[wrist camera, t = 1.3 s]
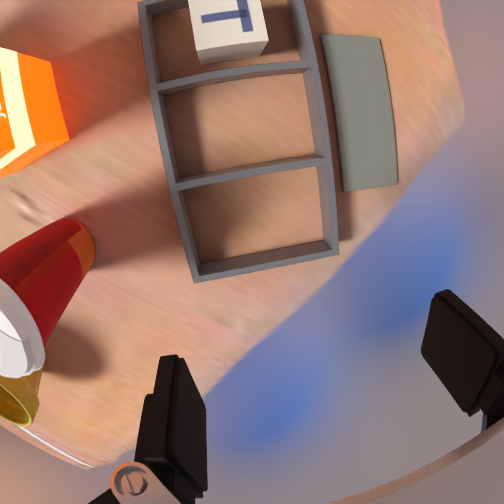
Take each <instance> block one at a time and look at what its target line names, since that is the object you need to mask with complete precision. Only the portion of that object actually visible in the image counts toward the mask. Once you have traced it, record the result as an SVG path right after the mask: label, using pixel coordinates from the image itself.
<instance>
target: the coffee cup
mask: <svg viewBox="0 0 504 504" xmlns="http://www.w3.org/2000/svg"><path fill="white" fill-rule="evenodd" d="M94 258H95V243H94V240H93V237H92V235H91V233H90V232H89V230H88V229H87V228H86V227H85V226H84V225H83V224H82V223H80V222H79V221H77V220H74V219H70V218H64V219H60V220H57V221H55V222H53V223H51V224H49V225H47V226H45V227H43V228H42V229H40V230H38V231H36V232H34V233H33V234H31V235H29V236H27V237H25V238H24V239H22V240H20V241H18V242H16V243H15V244H13V245H11V246H10V247H8V248H7V249H5V250H4V251H2V252H1V253H0V375H2V376H5V377H10V378H20V377H22V376H27V375H30V374H31V373H32V372H33V371H37V370H39V369H40V368H41V367H42V366H43V364H44V362H45V357H46V356H45V352H44V347H45V345H46V343H47V341H48V339H49V337H50V335H51V333H52V332H53V330H54V328H55V326H56V324H57V322H58V321H59V319H60V317H61V315H62V314H63V312H64V310H65V308H66V307H67V305H68V303H69V302H70V300H71V298H72V297H73V295H74V293H75V292H76V290H77V288H78V287H79V285H80V283H81V282H82V280H83V279H84V277H85V275H86V274H87V272H88V270H89V269H90V267H91V265H92V263H93V261H94Z"/></svg>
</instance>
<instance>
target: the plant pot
mask: <svg viewBox="0 0 504 504" xmlns="http://www.w3.org/2000/svg"><path fill="white" fill-rule="evenodd" d="M43 367H44V364H43V366H42V367H41V368H40V369H39V370H37V371H33V372H32V373H31V374H30V375H27V376H22V377H20V378H10V377H5V376H2V375H0V417H2V418H3V419H5V420H6V421H8V422H10V423H12V424H15V425H18V426H22V427H28V426H30V425H31V424H32V423H33V420H34V418H35V416H36V413H37V410H38V407H39V399H38V396H37V395H38V389H39V384H40V379H41V375H42V371H43Z"/></svg>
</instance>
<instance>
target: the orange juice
mask: <svg viewBox="0 0 504 504" xmlns="http://www.w3.org/2000/svg"><path fill="white" fill-rule="evenodd" d="M68 140H69V136H68V133H67V129H66V126H65V122H64V119H63V115H62V111H61V107H60V103H59V99H58V95H57V90H56V86H55V81H54V77H53V72H52V66H51V62H48V61H45V60H41V59H38V58H35V57H31V56H28V55H24V54H21V53H17V52H16V51H12V50H8V49H4V48H0V177H3V176H6V175H9V174H12V173H15V172H17V171H19V170H20V169H22V168H23V167H25V166H26V165H28V164H29V163H31V162H32V161H34V160H36V159H37V158H39V157H40V156H42V155H44V154H45V153H47V152H49V151H50V150H52V149H54V148H55V147H57V146H59V145H61V144H62V143H64V142H66V141H68Z"/></svg>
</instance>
